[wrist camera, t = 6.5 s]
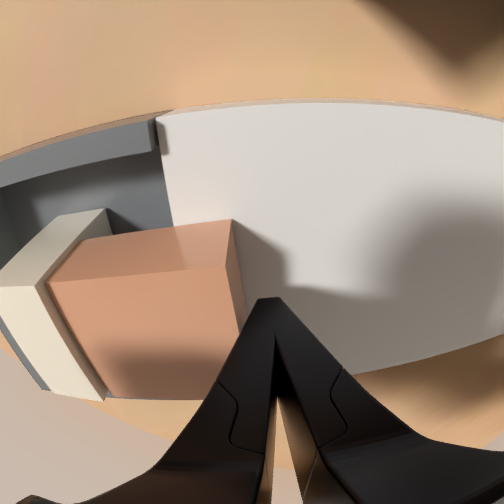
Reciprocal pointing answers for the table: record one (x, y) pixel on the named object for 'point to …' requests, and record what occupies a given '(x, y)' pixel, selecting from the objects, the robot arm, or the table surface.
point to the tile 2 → (154, 307)
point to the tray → (83, 188)
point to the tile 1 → (50, 305)
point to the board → (353, 216)
